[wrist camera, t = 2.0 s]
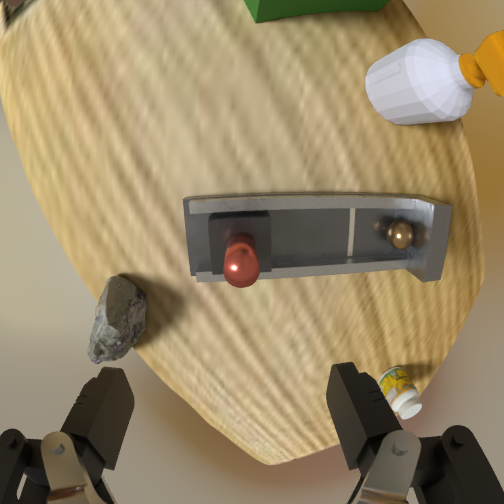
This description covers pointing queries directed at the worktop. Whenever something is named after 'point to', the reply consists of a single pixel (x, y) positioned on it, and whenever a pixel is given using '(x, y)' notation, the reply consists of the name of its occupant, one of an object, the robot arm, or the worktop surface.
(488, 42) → the soap bottle
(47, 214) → the worktop surface
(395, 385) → the supplement bottle
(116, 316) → the mineral rock
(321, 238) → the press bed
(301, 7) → the hardback book
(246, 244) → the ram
